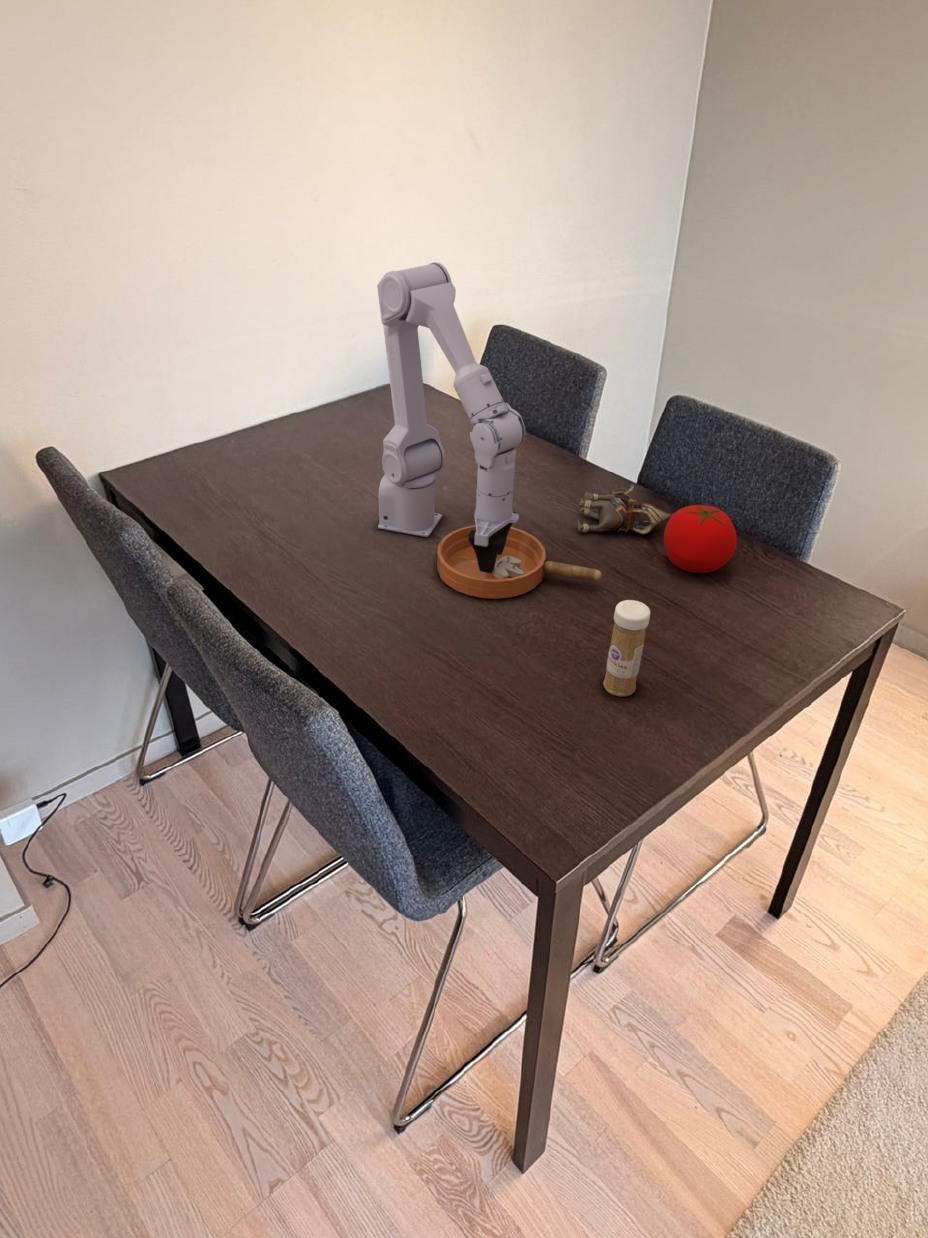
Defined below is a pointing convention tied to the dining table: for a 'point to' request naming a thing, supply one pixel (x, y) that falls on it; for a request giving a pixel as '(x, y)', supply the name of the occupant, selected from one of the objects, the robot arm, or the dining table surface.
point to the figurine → (619, 512)
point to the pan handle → (572, 571)
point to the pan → (484, 584)
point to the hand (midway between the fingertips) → (491, 562)
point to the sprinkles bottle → (626, 647)
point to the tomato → (699, 539)
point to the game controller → (507, 567)
